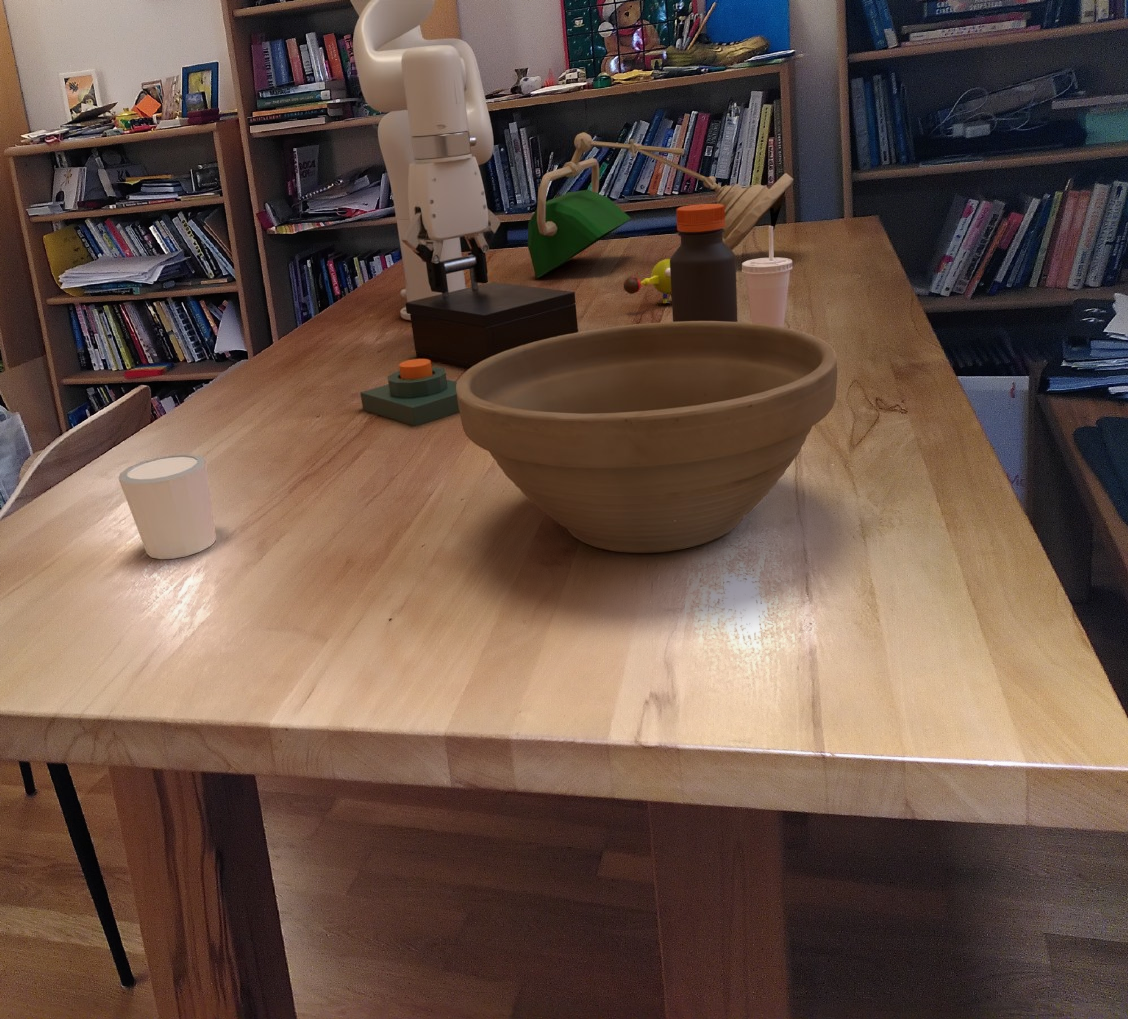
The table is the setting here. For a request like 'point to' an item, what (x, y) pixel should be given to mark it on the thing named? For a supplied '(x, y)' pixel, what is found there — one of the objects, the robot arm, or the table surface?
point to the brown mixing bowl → (650, 425)
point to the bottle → (703, 267)
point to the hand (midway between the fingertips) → (459, 285)
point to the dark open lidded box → (486, 336)
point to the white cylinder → (171, 505)
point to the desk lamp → (593, 216)
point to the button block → (413, 398)
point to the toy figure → (653, 280)
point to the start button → (415, 369)
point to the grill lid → (487, 299)
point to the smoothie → (767, 287)
